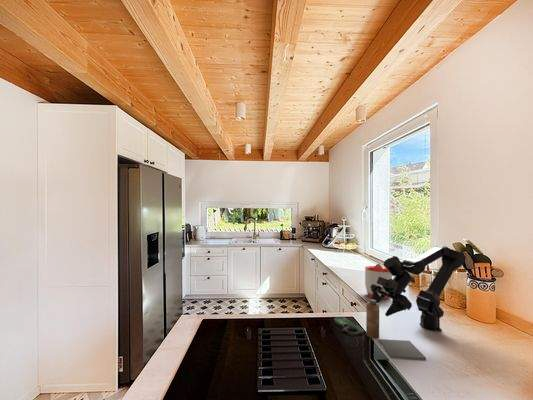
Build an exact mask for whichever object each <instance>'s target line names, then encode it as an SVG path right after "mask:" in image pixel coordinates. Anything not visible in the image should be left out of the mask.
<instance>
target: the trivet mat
mask: <svg viewBox="0 0 533 400" xmlns="http://www.w3.org/2000/svg"><path fill="white" fill-rule="evenodd" d="M377 339H378V343H379V345H380V346H381V347H382V346H383V347H382V348H383V350H384V349H385V350H384V351H385V352H386V354H387V353H388V354H387V355H388V356H389V358H390V359H400V360H403V359H404V360H416V361H418V360H420V361H427V357H426V356H425V355H424V354H423V353H422V352H421V351H420V349H419V348H417V346H415V345H414V343H412V342H411V341H410V340H405V339H404V340H403V339H388V338H387V339H384V338H382V339H381V338H377Z"/></svg>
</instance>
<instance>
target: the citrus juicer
mask: <svg viewBox="0 0 533 400" xmlns="http://www.w3.org/2000/svg"><path fill="white" fill-rule="evenodd" d="M364 275H365V276H364V284H365V289H366V293H367V295H368V296H369V297H370V298H372V296H373V293H372V291H371V288H370V287H371V285H372V284H376V285H379V286H380V287H381V288H382V287H383V286H382V285H380V284H377V280H378V278H379V277H382V278H385V279H387V280H389V279H393V276H392V275H391V274H390V272H389V271H388V270H387V269H386V268H385V267H384V266H382V265H381V264H380V263H376V265H367V266H365V267H364ZM382 289H383V288H382ZM383 290H384V291H385V289H383ZM387 295H388V294H387ZM382 299H383V300H387V299H390V298H389V297H387V296H385V297H383V298H382ZM383 300H382V301H383Z"/></svg>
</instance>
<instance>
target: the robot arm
mask: <svg viewBox="0 0 533 400" xmlns="http://www.w3.org/2000/svg"><path fill="white" fill-rule="evenodd" d="M440 258H441V263H442V264H441V266H440V268H439V269H438V272H437V273H436V275H435V276H434V278H433V280H432V281H431V283H430V285H429V286H428V288H427V289H426V290H424V289H420V291H419V293H418V295H416V299H415V302H416V303H415V304H416V306H417V310H418V311H419V312H421V314H420V322H419V325H420V326H421V327H422V328H423V329H425V330H426V331H438V332H439V331H440V332H441V331H443V329H442V328H441V327H440V326H441V325H440V324H441V323H440V321H441V318H443V317H444V314H445V311H444V310H443V309H442V307H441V306H440V305H441V298H440V296H441V294H442V293H443V291H444V290H445V287H446V285H447V284H448V282H449V280H450V278H451V276H452V274H453V273H454V272H455V270H457V269H459V268H461V267H462V266H463V265H464V263H465V262H466V261H467V260H466V259H467V257H466V255H465V253H464V252H463V251H459V250H454V249H452V248H449V247H447V246H445V245H439V244H437V245H434V247H432V248H431V249H430V250H429V249H428V251H426V252H423V253H422V254H420V255H419V256H415V257H408V258H406V259H404V260H403V261H402V260H400V258H399V257H398V256H397V255H396V256H395V255H393V256H392V257H389V258H387V259H385V260H384V262H383V267H384V268H386V269H387V270H388V271H389V272H390V274H391V275H392V279H389V280H387V279H385V278H382V277H379V278H378V280H377V284H380V285H382V286H383V287H382V288H383V289H385V291H384V290H383V289H382V288H381V287H380V286H379V285H376V284H372V285H371V287H370V288H371V291H372V293H373V296H372V297H371V299H373V300H376V303H378V304H380V302H382V301H383V299H382V298H383V297H385V296H387V297H389V298H388V299H392V303H391V304H390V305H389V307H388V309H387V310H386V312H385V313H384V315H385V316H386V317H389V316H392V315H394V314H397V313H399V312H402V311H410V310H411V309H412V306H413V304H412V302H411V300H409V299H408V297H407V296H406V295H404V294H405V293H406V292H407V290H406V288H407V286H408V285H409V284H411V283H412V284H415V283H416V281H415V276H414V275H416V276H419V275H421V273H423V272H424V271H425V270H426V267H427V266H428V265H430V264H432V263H433V262H435V261H437V260H439V259H440ZM411 274H412V275H411ZM387 294H388V295H387Z"/></svg>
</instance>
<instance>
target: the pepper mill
mask: <svg viewBox="0 0 533 400" xmlns="http://www.w3.org/2000/svg"><path fill="white" fill-rule="evenodd" d="M365 306H366V310H365V311H366V313H365V314H366V316H365V317H366V319H365V320H366V322H365V324H366V327H365V334H366V336H367V337H368V338H369V339H373V340H375V339H380V303H376V300H373V299H372V298H371V299H369V301H367V302H366V305H365Z"/></svg>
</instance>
